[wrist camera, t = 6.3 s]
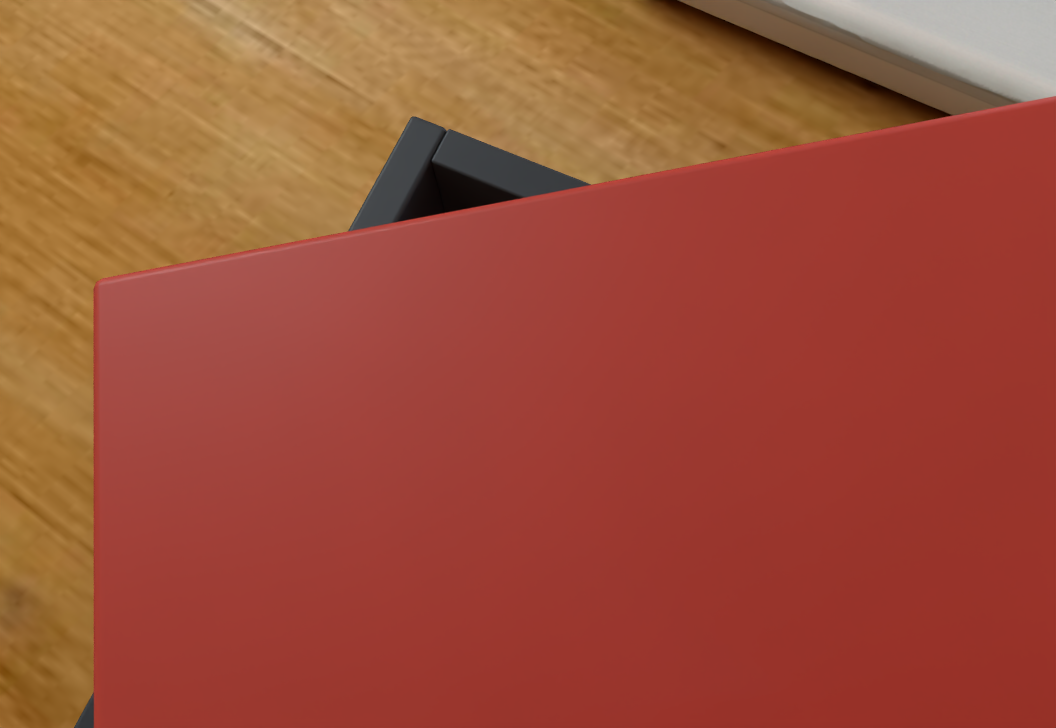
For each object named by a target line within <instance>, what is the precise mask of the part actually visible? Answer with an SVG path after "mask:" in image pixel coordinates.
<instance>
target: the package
mask: <svg viewBox="0 0 1056 728" xmlns="http://www.w3.org/2000/svg"><path fill="white" fill-rule="evenodd" d="M94 728H1056V96H1053V97H1048V98H1043V99H1038V100H1032V101H1027V102H1022V103H1017V104H1011V105H1006V106H1001V107H996V108H991V109H985V110H980V111H975V112H970V113H964V114H959V115H954V116H949V117H944V118H938V119H933V120H928V121H923V122H917V123H912V124H907V125H902V126H897V127H891V128H886V129H881V130H876V131H870V132H865V133H860V134H855V135H850V136H844V137H839V138H834V139H829V140H823V141H818V142H813V143H808V144H803V145H797V146H792V147H787V148H782V149H776V150H771V151H766V152H761V153H756V154H750V155H745V156H740V157H735V158H729V159H724V160H719V161H714V162H709V163H703V164H698V165H693V166H688V167H682V168H677V169H672V170H667V171H662V172H656V173H651V174H646V175H641V176H635V177H630V178H625V179H620V180H615V181H609V182H604V183H599V184H594V185H588V186H583V187H578V188H573V189H568V190H562V191H557V192H552V193H547V194H541V195H536V196H531V197H526V198H521V199H515V200H510V201H505V202H500V203H494V204H489V205H484V206H479V207H474V208H468V209H463V210H458V211H453V212H447V213H442V214H437V215H432V216H427V217H421V218H416V219H411V220H406V221H400V222H395V223H390V224H385V225H380V226H374V227H369V228H364V229H359V230H353V231H348V232H343V233H338V234H333V235H327V236H322V237H317V238H312V239H306V240H301V241H296V242H291V243H286V244H280V245H275V246H270V247H265V248H259V249H254V250H249V251H244V252H239V253H233V254H228V255H223V256H218V257H212V258H207V259H202V260H197V261H192V262H186V263H181V264H176V265H171V266H165V267H160V268H155V269H150V270H145V271H139V272H134V273H129V274H124V275H118V276H113V277H108V278H103V279H101V280H99V281H97V282H96V284H95V287H94Z"/></svg>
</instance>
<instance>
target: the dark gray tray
mask: <svg viewBox="0 0 1056 728" xmlns="http://www.w3.org/2000/svg"><path fill="white" fill-rule="evenodd" d="M588 185H591V184H588V183H586V182H583V181H581V180H578V179H575V178H573V177H570V176H568V175H565V174H563V173H560V172H558V171H555V170H553V169H550V168H547V167H545V166H542V165H540V164H537V163H535V162H532V161H530V160H527V159H524V158H522V157H519V156H517V155H514V154H512V153H509V152H507V151H504V150H502V149H499V148H496V147H494V146H491V145H489V144H486V143H484V142H481V141H479V140H476V139H474V138H471V137H468V136H466V135H463V134H461V133H458V132H456V131H453V130H451V129H449V130H448V131H446V129H444V128H443V127H441V126H438V125H436V124H433V123H430V122H428V121H425V120H423V119H420V118H418V117H411V118H410V120H409V122H408V124H407V126H406V127H405V129H404V131H403V133H402V135H401V137H400V138H399V140H398V142H397V144H396V146H395V147H394V149H393V151H392V153H391V155H390V156H389V158H388V160H387V162H386V164H385V165H384V167H383V169H382V171H381V173H380V175H379V176H378V178H377V180H376V182H375V184H374V185H373V187H372V189H371V191H370V193H369V194H368V196H367V198H366V200H365V202H364V204H363V205H362V207H361V209H360V211H359V213H358V214H357V216H356V218H355V220H354V222H353V223H352V225H351V227H350V229H349V231H353V230H359V229H364V228H369V227H374V226H380V225H385V224H390V223H395V222H400V221H406V220H411V219H416V218H421V217H427V216H432V215H437V214H442V213H447V212H453V211H458V210H463V209H468V208H474V207H479V206H484V205H489V204H494V203H500V202H505V201H510V200H515V199H521V198H526V197H531V196H536V195H541V194H547V193H552V192H557V191H562V190H568V189H573V188H578V187H583V186H588ZM74 728H94V693H93V694H92V696H91V698H90V700H89V702H88V703H87V705H86V707H85V709H84V711H83V712H82V714H81V716H80V718H79V720H78V722H77V723H76V725H75V727H74Z"/></svg>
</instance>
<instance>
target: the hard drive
mask: <svg viewBox="0 0 1056 728" xmlns="http://www.w3.org/2000/svg"><path fill="white" fill-rule="evenodd" d="M678 1H680V2H683V3H685V4H687V5H690V6H692V7H695V8H697V9H699V10H702V11H704V12H706V13H709V14H711V15H714V16H716V17H718V18H721V19H723V20H725V21H728V22H730V23H733V24H735V25H737V26H740V27H742V28H745V29H747V30H749V31H752V32H754V33H757V34H759V35H761V36H764V37H766V38H768V39H771V40H773V41H775V42H778V43H780V44H783V45H785V46H788V47H790V48H792V49H794V50H797V51H800V52H802V53H804V54H807V55H809V56H811V57H814V58H816V59H819V60H821V61H824V62H826V63H829V64H831V65H833V66H836V67H838V68H840V69H843V70H845V71H848V72H850V73H853V74H855V75H857V76H860V77H862V78H865V79H867V80H869V81H872V82H874V83H876V84H879V85H881V86H884V87H886V88H888V89H891V90H893V91H895V92H898V93H900V94H903V95H905V96H907V97H910V98H912V99H914V100H916V101H919V102H921V103H924V104H926V105H929V106H931V107H934V108H936V109H939V110H941V111H944V112H946V113H948V114H951V115H953V116H954V115H959V114H964V113H970V112H975V111H980V110H985V109H991V108H996V107H1001V106H1006V105H1011V104H1017V103H1022V102H1027V101H1032V100H1038V99H1043V98H1048V97H1053V96H1056V0H678Z"/></svg>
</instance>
